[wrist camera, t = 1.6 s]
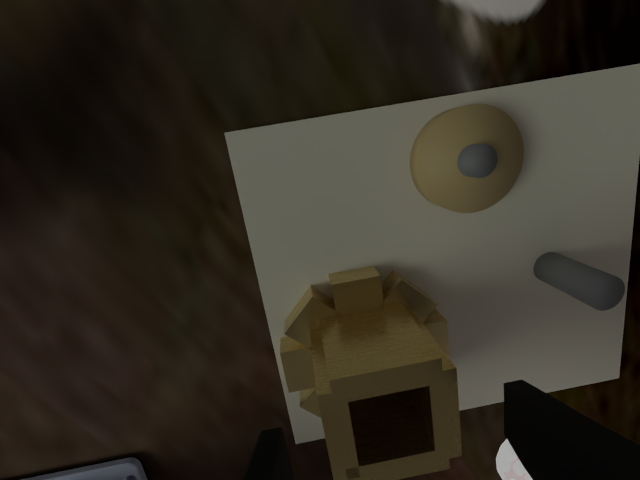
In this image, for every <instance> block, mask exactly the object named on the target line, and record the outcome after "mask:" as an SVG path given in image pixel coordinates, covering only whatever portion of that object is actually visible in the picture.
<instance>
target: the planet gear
mask: <svg viewBox="0 0 640 480" xmlns="http://www.w3.org/2000/svg"><path fill="white" fill-rule="evenodd" d="M328 276H329V282H330V288H331V294H332V298H330V297H329V296H327V295H326V294H324V293H322V292H321V291H319V290H318V289H316V288H314V287H313V286H311V285H310V287H309V288H308V289H307V291H306V292H305V293H304V295H303V296H302V297H301V299H300V300H299V301H298V303H297V304H296V305H295V307H294V308H293V309H292V311H291V312H290V313H289V315H288V316H287V317H286V319H285V325H284V334H285V335H287V337H282V338H281V339H280V356H281V361H282V365H283V370H284V374H285V379H286V383H287V387H288V392H289V393H291V392H296V391H299V393H300V407H301V408H303V409H305V410H306V411H308V412H310V413H312V414H314V415H316V416H318V417H320V418H321V419H322V424H323V429H324V434H325V439H326V444H327V449H328V454H329V459H330V464H331V470H332V475H333V480H399V479H403V478H408V477H413V476H417V475H422V474H427V473H432V472H436V471H441V470H446V469H450V464H449V458H453V457H458V456H462V448H461V432H460V416H459V399H458V383H457V368H456V367H455V365H454V364H453V363H452V361H451V360H450V359H449V344H448V329H447V320H446V319H445V318H444V317H443V316H442V315H441V314H440V313H439V312H438V311H437V309H436V308H435V307H436V306H437V305H438V304H437V303H436V302H435V301H434V300H433V299H432V298H431V297H430V296H429V295H428V294H427V293H426V292H424V291H423V290H422V289H420V288H419V287H417V286H416V285H414V284H413V283H411V282H410V281H409V280H407V279H406V278H404V277H403V276H401V275H400V274H398V273H397V272H395V271H394V270H392V271H391V273H390V274H389V275H388V277H387V278H386V279H385V280H384V282H383V283H382V284H381V276H380V274H379V273H378V272H377V270H376V269H375V267H374V266H370V267H364V268H359V269H353V270H348V271H343V272H337V273H332V274H328Z"/></svg>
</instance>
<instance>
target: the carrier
mask: <svg viewBox="0 0 640 480" xmlns="http://www.w3.org/2000/svg"><path fill="white" fill-rule="evenodd" d="M225 138H226V142H227V146H228V151H229V155H230V159H231V164H232V168H233V173H234V177H235V181H236V186H237V190H238V194H239V199H240V203H241V207H242V212H243V216H244V220H245V225H246V229H247V234H248V238H249V242H250V247H251V251H252V255H253V260H254V264H255V268H256V273H257V277H258V281H259V286H260V290H261V295H262V299H263V303H264V308H265V312H266V316H267V321H268V325H269V329H270V334H271V338H272V343H273V347H274V351H275V356H276V360H277V364H278V369H279V373H280V377H281V382H282V386H283V390H284V395H285V399H286V404H287V408H288V412H289V417H290V421H291V425H292V430H293V434H294V438H295V443H296V444H299V443H304V442H309V441H313V440H318V439H323V438H325V434H324V429H323V424H322V419H321V418H320V417H318V416H316V415H314V414H312V413H310V412H308V411H306V410H305V409H303V408H301V407H300V393H299V391H296V392H291V393H289V392H288V387H287V383H286V379H285V374H284V370H283V365H282V361H281V356H280V339H281V338H282V337H287V335H285V334H284V325H285V319H286V317H287V316H288V315H289V313H290V312H291V311H292V309H293V308H294V307H295V305H296V304H297V303H298V301H299V300H300V299H301V297H302V296H303V295H304V293H305V292H306V291H307V289H308V288H309V287H310V285H311V286H313V287H314V288H316V289H318V290H319V291H321V292H322V293H324V294H326V295H327V296H329V297H330V298H332V294H331V288H330V282H329V276H328V274H332V273H337V272H343V271H348V270H353V269H359V268H364V267H370V266H374V267H375V269H376V270H377V272H378V273H379V274H380V276H381V284H382V283H383V282H384V280H385V279H386V278H387V277H388V275H389V274H390V273H391V271H392V270H394V271H395V272H397V273H398V274H400V275H401V276H403V277H404V278H406V279H407V280H409V281H410V282H411V283H413V284H414V285H416V286H417V287H419V288H420V289H422V290H423V291H424V292H426V293H427V294H428V295H429V296H430V297H431V298H432V299H433V300H434V301H435V302H436V303H437V304H438V305H437V306H436V307H435V308H436V309H437V311H438V312H439V313H440V314H441V315H442V316H443V317H444V318H445V319H446V320H447V329H448V344H449V359H450V360H451V361H452V363H453V364H454V365H455V367H456V368H457V383H458V399H459V411H460V410H465V409H470V408H474V407H479V406H484V405H489V404H494V403H499V402H504V383H507V382H512V381H517V380H524V381H526V382H527V383H529V384H531V385H533V386H535V387H536V388H538V389H540V390H541V391H543V392H545V393H548V392H553V391H557V390H562V389H567V388H572V387H577V386H582V385H587V384H592V383H596V382H601V381H606V380H611V379H616V378H619V372H620V361H621V351H622V340H623V329H624V318H625V308H626V297H627V286H628V275H629V265H630V254H631V243H632V232H633V222H634V211H635V200H636V189H637V178H638V168H639V157H640V64H635V65H629V66H623V67H617V68H611V69H605V70H599V71H593V72H587V73H581V74H575V75H569V76H563V77H557V78H551V79H545V80H539V81H533V82H527V83H521V84H515V85H509V86H503V87H497V88H491V89H485V90H479V91H473V92H467V93H461V94H455V95H449V96H443V97H437V98H431V99H425V100H419V101H413V102H407V103H401V104H395V105H389V106H383V107H377V108H371V109H365V110H359V111H353V112H347V113H341V114H335V115H329V116H323V117H317V118H311V119H305V120H299V121H293V122H287V123H281V124H275V125H269V126H263V127H257V128H251V129H245V130H239V131H233V132H227V133H225Z"/></svg>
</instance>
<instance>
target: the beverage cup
mask: <svg viewBox="0 0 640 480" xmlns="http://www.w3.org/2000/svg"><path fill="white" fill-rule="evenodd" d="M496 464H497V471H498V473H499V474H500V476H501V478H502V480H533V479H532V478H531V476H530V475H529V474H528V472H527V471H526V469H525V468H524V466H523V465H522V463H521V461H520V460H519V458H518V457H517V455H516V453H515V452H514V450H513V448H512V446H511V445H510V443H509V441H508V439H506V440H505V441H504V443H503V444H502V445H501V446H500V449H499V451H498V454H497V457H496Z"/></svg>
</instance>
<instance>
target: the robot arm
mask: <svg viewBox="0 0 640 480" xmlns="http://www.w3.org/2000/svg"><path fill="white" fill-rule="evenodd" d="M504 434H505V436H506V438H507V439H508V441H509V443H510V445H511V446H512V448H513V450H514V452H515V453H516V455H517V457H518V458H519V460H520V461H521V463H522V465H523V466H524V468H525V469H526V471H527V472H528V474H529V475H530V476H531V478H532V479H533V480H640V446H639V445H637V444H636V443H634V442H632V441H630V440H628V439H626V438H624V437H622V436H620V435H618V434H617V433H615V432H613V431H611V430H609V429H607V428H605V427H604V426H602V425H600V424H598V423H596V422H595V421H593V420H591V419H589V418H588V417H586V416H584V415H582V414H581V413H579V412H577V411H575V410H574V409H572V408H570V407H569V406H567V405H565V404H563V403H562V402H560V401H558V400H557V399H555V398H553V397H552V396H550V395H548V394H546V393H545V392H543V391H541V390H540V389H538V388H536V387H535V386H533V385H531V384H529V383H527V382H526V381H524V380H517V381H512V382H507V383H504ZM132 475H133V476H132ZM21 480H147V477H146V475H145V472H144V470H143V467H142V464H141V463H140V461H139V460H138V459H136V458H125V459H120V460H115V461H110V462H105V463H100V464H95V465H90V466H85V467H80V468H75V469H70V470H66V471H61V472H56V473H51V474H46V475H41V476H36V477H31V478H26V479H21ZM242 480H293V474H292V469H291V465H290V461H289V457H288V453H287V449H286V444H285V440H284V436H283V432H282V428H281V427H280V428H275V429H270V430H265V431H262V432H261V433H260V435H259V437H258V440H257V443H256V446H255V448H254V451H253V454H252V456H251V459H250V461H249V464H248V466H247V469H246V471H245V474H244V476H243V478H242Z"/></svg>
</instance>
